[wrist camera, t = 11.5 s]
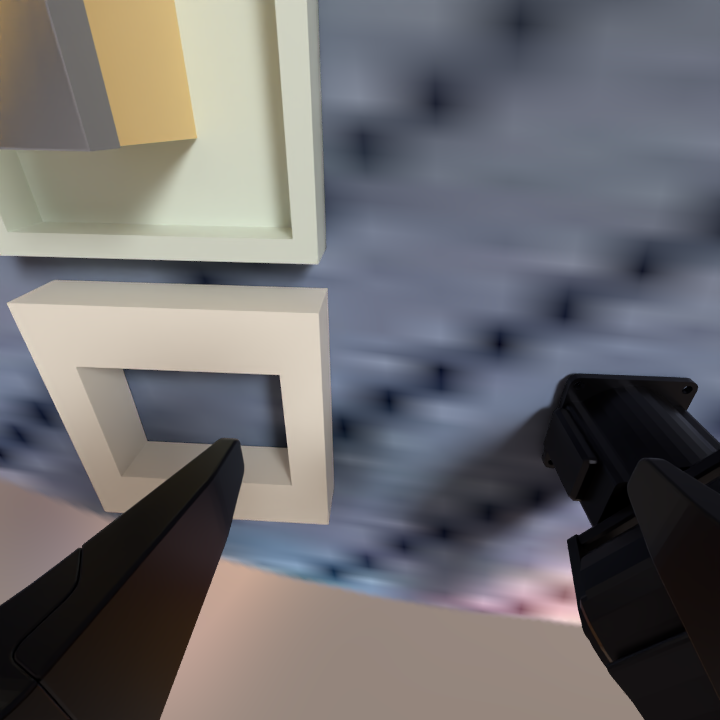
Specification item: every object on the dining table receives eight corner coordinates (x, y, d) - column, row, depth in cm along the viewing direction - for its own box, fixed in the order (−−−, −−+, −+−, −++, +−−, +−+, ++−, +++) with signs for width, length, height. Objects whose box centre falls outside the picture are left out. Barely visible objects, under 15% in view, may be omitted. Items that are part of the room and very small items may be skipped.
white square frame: (327, 288, 20) (318, 313, 17) (334, 486, 27) (328, 524, 25) (54, 280, 21) (6, 303, 18) (131, 475, 28) (105, 511, 25)
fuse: (164, -71, 13) (-20, -227, 7) (198, 139, 16) (90, 151, 10) (43, -71, 13) (-232, -223, 7) (101, 137, 17) (-62, 147, 11)
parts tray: (308, -294, 11) (289, -390, 9) (326, 247, 19) (318, 264, 17) (-166, -277, 12) (-288, -364, 10) (38, 240, 20) (-5, 255, 17)
